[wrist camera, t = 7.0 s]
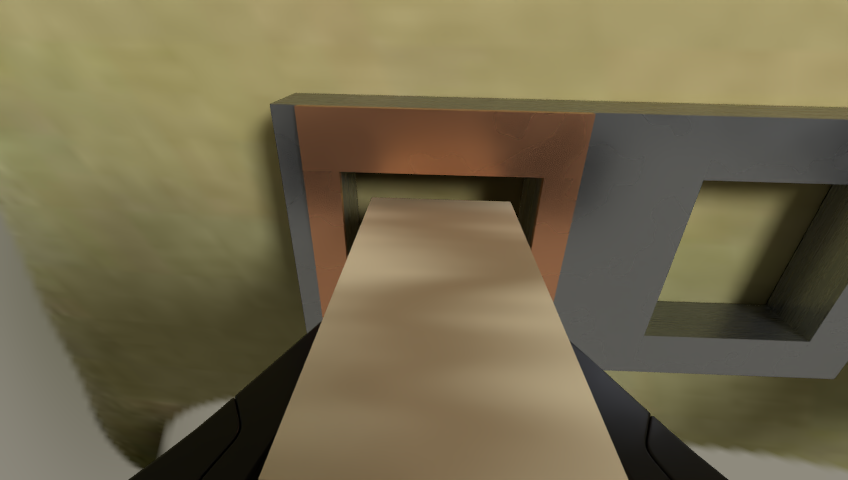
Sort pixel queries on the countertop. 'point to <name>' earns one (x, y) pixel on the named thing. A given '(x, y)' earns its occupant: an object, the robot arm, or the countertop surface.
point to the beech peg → (441, 361)
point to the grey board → (595, 212)
